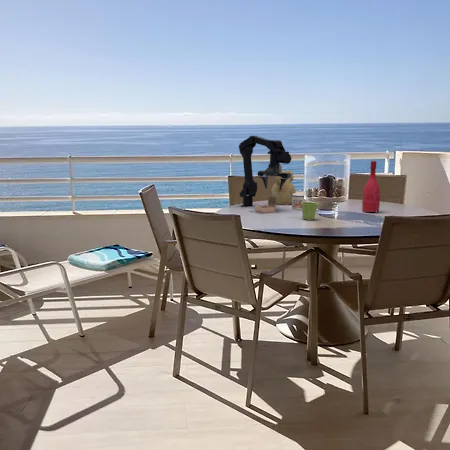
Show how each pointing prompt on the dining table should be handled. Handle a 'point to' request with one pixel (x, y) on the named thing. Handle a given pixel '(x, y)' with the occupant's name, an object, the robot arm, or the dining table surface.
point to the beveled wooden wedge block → (272, 201)
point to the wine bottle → (371, 192)
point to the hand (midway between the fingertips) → (273, 189)
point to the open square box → (265, 209)
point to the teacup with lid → (297, 200)
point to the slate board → (261, 213)
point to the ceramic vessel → (283, 189)
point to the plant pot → (309, 210)
